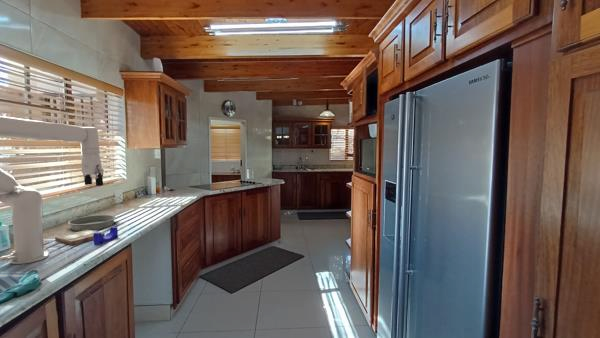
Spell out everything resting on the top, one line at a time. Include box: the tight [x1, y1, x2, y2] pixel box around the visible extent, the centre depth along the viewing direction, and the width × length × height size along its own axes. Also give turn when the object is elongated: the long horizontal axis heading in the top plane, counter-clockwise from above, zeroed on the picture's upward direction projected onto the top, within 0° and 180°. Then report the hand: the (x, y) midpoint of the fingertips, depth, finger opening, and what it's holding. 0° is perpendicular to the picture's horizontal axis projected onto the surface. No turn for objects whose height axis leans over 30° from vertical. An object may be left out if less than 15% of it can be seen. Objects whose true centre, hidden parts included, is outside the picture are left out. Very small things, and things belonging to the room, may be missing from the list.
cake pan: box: [67, 214, 117, 232], centre depth 187 cm, size 25×25×4 cm
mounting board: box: [54, 230, 106, 246], centre depth 161 cm, size 16×16×2 cm
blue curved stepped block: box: [93, 226, 119, 246], centre depth 158 cm, size 12×4×6 cm, turn 169°
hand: (94, 185), depth 154 cm, fingers open, 9 cm apart
